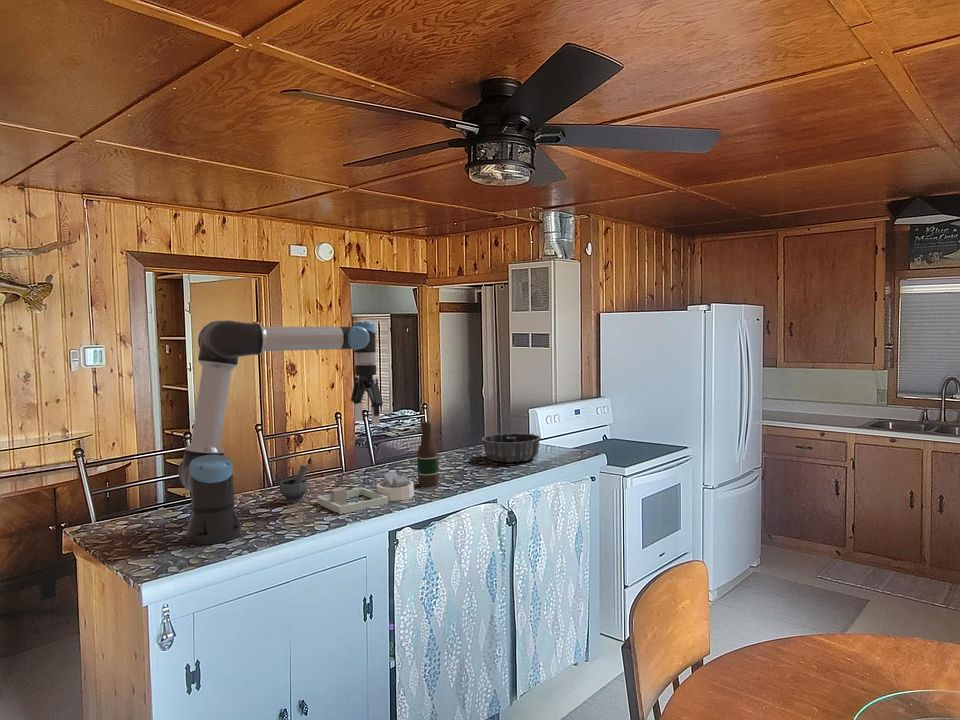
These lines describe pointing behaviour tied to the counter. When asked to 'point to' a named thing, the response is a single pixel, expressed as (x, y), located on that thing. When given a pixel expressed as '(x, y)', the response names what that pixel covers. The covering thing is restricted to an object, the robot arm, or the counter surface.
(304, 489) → the mortar and pestle
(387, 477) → the light grey cuboid
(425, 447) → the beer bottle
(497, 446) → the bundt pan
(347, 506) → the square frame
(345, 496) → the taupe block
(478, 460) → the counter surface
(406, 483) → the grey rectangular block
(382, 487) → the bowl
